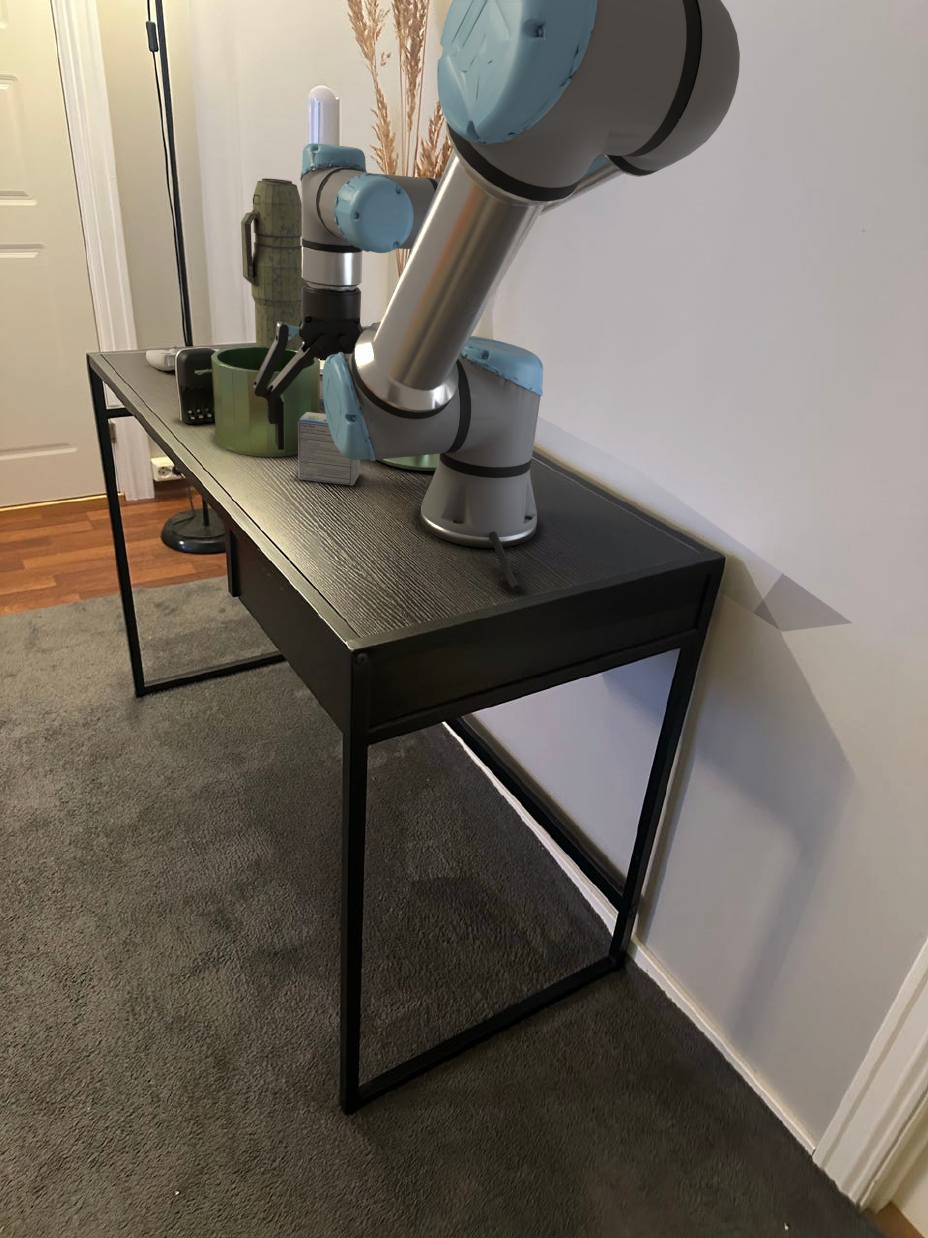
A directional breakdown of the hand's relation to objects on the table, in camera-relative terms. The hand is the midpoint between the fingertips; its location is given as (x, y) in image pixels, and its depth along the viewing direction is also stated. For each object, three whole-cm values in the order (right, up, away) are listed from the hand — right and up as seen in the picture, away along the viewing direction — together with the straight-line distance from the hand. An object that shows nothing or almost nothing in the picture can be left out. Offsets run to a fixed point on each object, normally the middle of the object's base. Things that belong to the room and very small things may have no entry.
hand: (328, 445), depth 116 cm
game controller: (-34, +24, +44) cm, 61 cm away
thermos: (-14, +14, +31) cm, 37 cm away
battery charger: (-23, +8, +18) cm, 31 cm away
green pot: (-12, +4, +14) cm, 18 cm away
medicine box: (0, -4, +2) cm, 5 cm away
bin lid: (+12, +2, +14) cm, 18 cm away
